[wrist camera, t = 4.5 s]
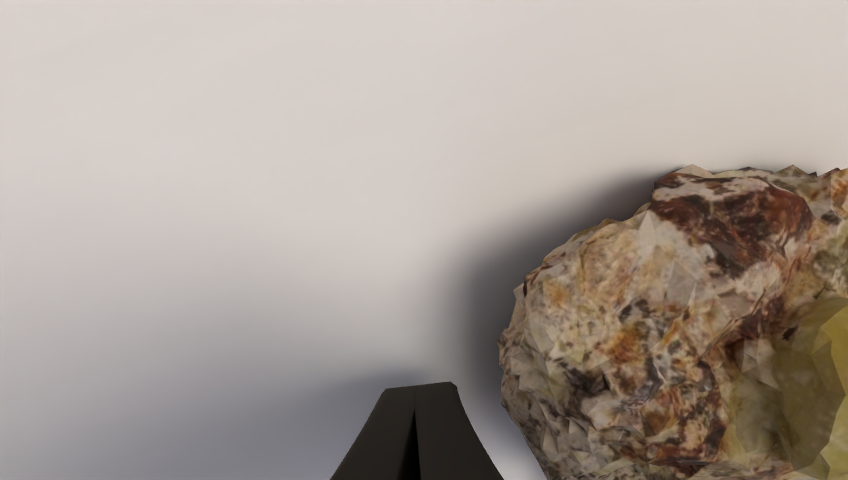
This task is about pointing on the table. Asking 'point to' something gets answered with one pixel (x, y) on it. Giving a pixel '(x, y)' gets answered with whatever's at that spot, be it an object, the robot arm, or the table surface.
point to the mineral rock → (691, 335)
